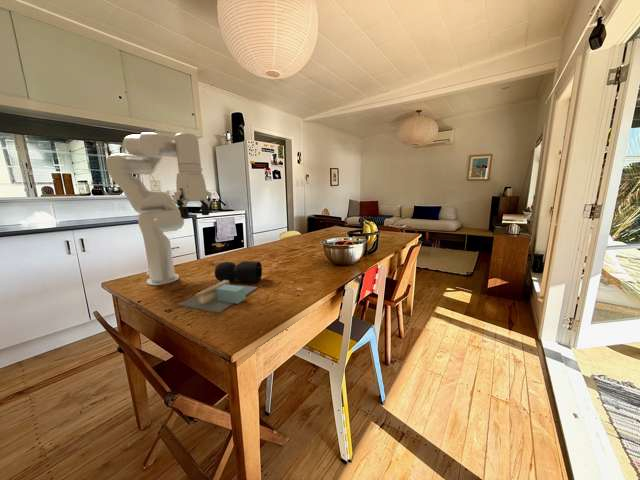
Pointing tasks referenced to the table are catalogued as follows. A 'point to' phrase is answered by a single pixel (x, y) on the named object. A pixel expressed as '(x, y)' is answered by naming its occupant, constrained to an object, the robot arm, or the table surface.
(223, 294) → the block
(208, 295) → the plank
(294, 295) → the table surface
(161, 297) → the table surface
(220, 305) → the panel
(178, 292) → the table surface
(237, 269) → the figurine
